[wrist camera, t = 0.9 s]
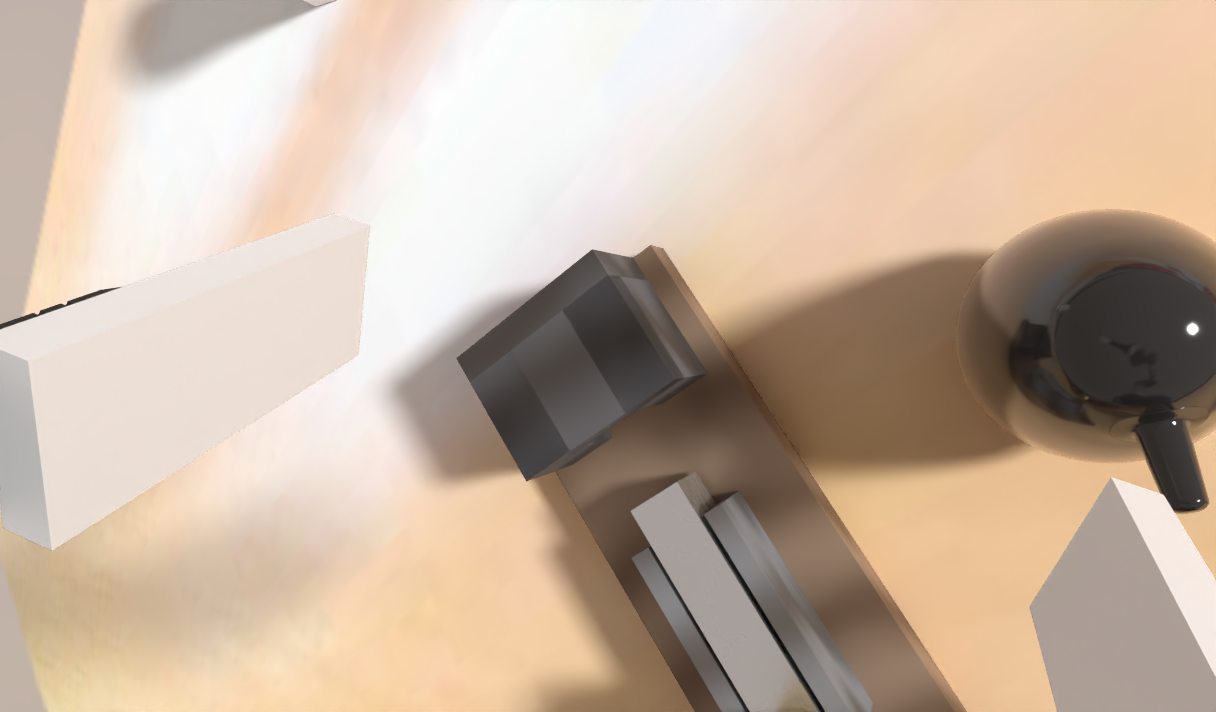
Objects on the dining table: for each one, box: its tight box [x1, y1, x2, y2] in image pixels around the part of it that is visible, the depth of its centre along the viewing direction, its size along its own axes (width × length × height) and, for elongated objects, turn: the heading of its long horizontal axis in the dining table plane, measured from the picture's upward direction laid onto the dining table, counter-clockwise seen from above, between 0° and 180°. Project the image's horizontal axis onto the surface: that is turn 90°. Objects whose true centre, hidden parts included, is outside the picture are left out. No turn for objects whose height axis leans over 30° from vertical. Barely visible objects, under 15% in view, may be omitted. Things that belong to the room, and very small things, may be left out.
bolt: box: [631, 472, 825, 712], centre depth 36 cm, size 16×3×8 cm, turn 33°
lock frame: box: [457, 245, 966, 712], centre depth 40 cm, size 30×12×7 cm, turn 33°
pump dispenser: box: [956, 209, 1216, 514], centre depth 29 cm, size 10×10×15 cm
